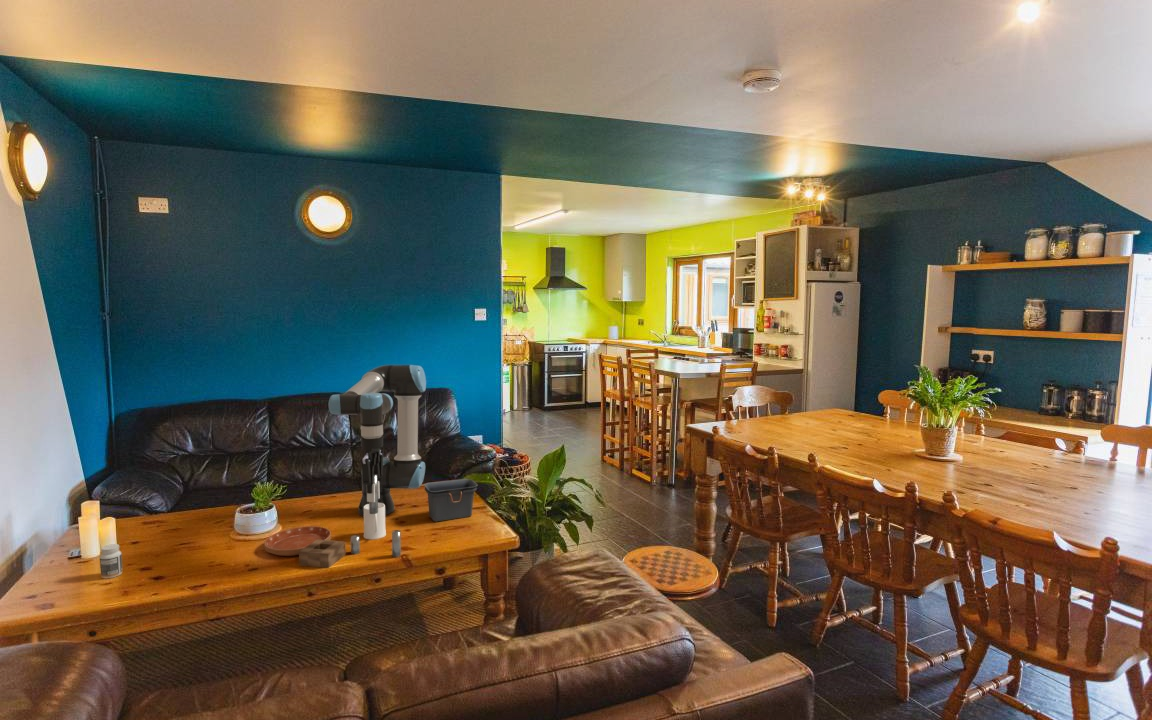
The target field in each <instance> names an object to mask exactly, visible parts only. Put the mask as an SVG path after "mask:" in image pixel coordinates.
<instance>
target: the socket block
mask: <svg viewBox="0 0 1152 720" xmlns="http://www.w3.org/2000/svg"><path fill="white" fill-rule="evenodd" d="M345 556H346V541H344V540H342V541H341V540H331V539H330V540H318V539H317V540H316V541H314V542H313V543H311V544H310V545H308V546H307V547H305V548H304V549H302V550H301V551H299V555H298V559H299V560H298V563H299V564H298V565H299V566H301V567H303V566H304V567H313V568H323V569H324V568H325V569H329V568H330V567H332V566H334V564H336V563H337V562H338V561H340V560H341V559H342V558H344V557H345Z"/></svg>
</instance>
